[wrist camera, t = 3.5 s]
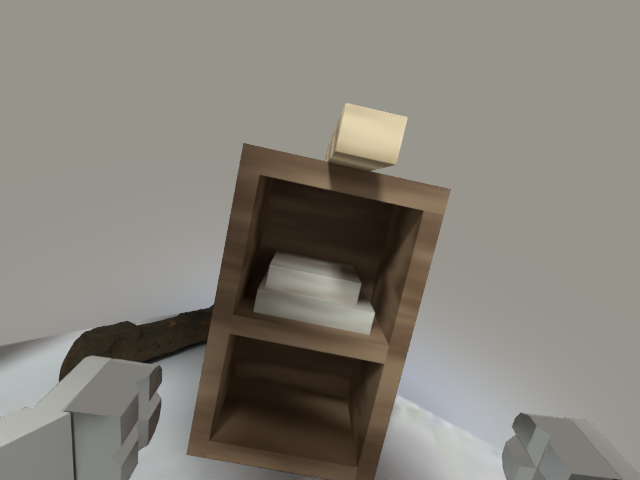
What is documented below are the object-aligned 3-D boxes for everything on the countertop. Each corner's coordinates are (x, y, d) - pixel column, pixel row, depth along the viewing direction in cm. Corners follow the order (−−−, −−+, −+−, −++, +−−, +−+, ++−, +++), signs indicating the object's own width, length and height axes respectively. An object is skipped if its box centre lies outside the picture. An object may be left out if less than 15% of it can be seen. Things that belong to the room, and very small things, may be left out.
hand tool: (212, 327, 57) (218, 292, 56) (235, 339, 54) (241, 303, 54) (42, 378, 37) (47, 326, 36) (66, 399, 35) (73, 344, 34)
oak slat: (396, 164, 19) (407, 117, 19) (335, 151, 19) (346, 102, 18) (353, 175, 39) (358, 152, 38) (323, 168, 39) (328, 145, 38)
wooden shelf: (371, 487, 32) (450, 189, 28) (186, 454, 31) (243, 143, 27) (355, 405, 44) (409, 188, 40) (221, 379, 43) (264, 155, 39)
